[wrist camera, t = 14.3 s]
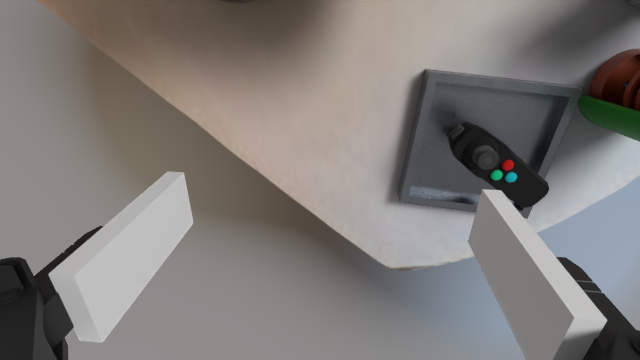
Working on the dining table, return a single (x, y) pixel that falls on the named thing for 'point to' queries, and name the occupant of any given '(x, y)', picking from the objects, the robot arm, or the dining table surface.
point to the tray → (490, 114)
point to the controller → (496, 164)
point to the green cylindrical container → (615, 95)
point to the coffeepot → (635, 2)
